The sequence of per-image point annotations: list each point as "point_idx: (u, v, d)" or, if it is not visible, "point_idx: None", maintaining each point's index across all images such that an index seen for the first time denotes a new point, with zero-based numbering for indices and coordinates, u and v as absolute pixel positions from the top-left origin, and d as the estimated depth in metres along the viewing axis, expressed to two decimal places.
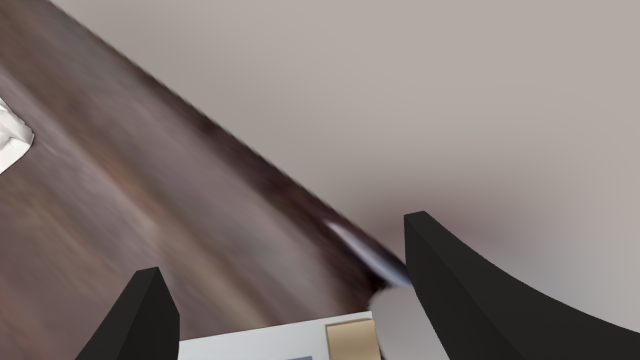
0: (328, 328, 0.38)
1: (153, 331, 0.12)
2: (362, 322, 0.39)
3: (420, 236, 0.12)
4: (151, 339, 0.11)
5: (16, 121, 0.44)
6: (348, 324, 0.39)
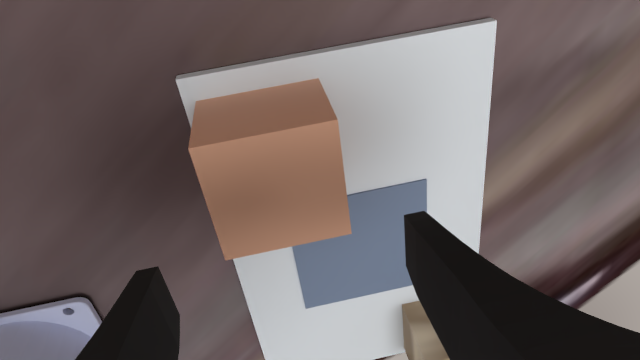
0: None
1: (153, 331, 0.12)
2: None
3: (420, 236, 0.12)
4: (152, 338, 0.11)
5: None
6: None
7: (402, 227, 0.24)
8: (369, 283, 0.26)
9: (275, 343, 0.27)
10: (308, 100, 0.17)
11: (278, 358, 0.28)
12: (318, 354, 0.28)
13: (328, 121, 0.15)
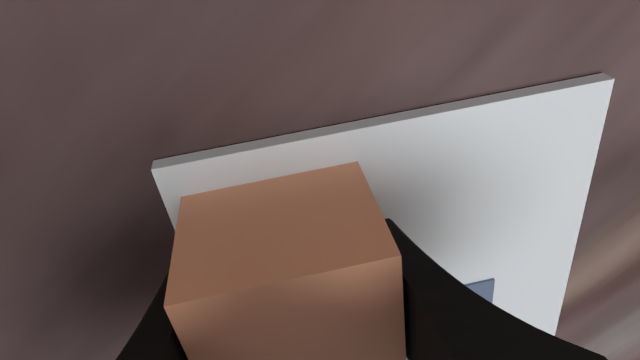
0: None
1: None
2: None
3: None
4: None
5: None
6: None
7: None
8: None
9: None
10: (348, 207, 0.11)
11: None
12: None
13: (386, 258, 0.10)
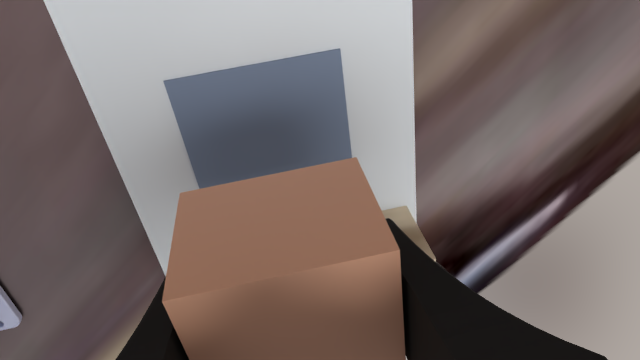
0: None
1: None
2: None
3: None
4: None
5: None
6: None
7: (317, 115, 0.20)
8: None
9: None
10: (346, 202, 0.11)
11: None
12: None
13: (384, 252, 0.10)
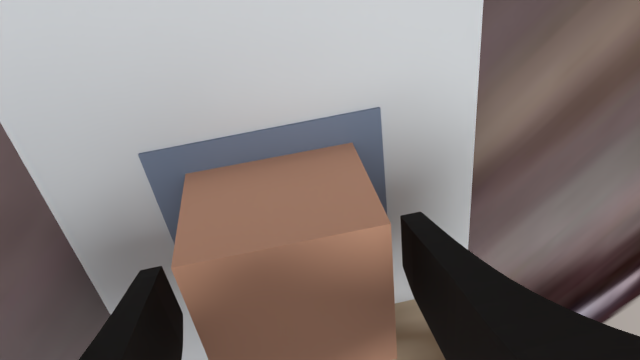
0: None
1: (157, 330, 0.12)
2: None
3: (416, 237, 0.12)
4: (155, 338, 0.11)
5: None
6: None
7: None
8: None
9: None
10: (342, 183, 0.12)
11: None
12: None
13: (377, 226, 0.11)
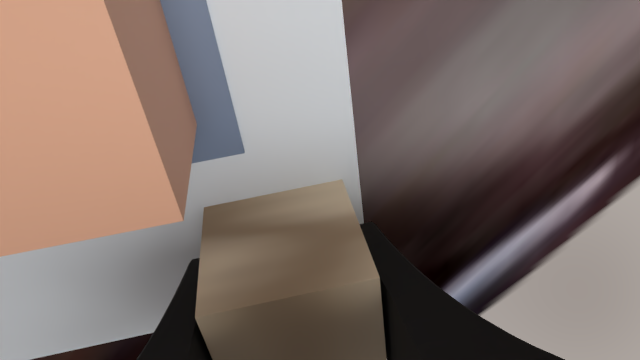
0: (373, 281, 0.10)
1: None
2: None
3: None
4: None
5: None
6: (380, 331, 0.11)
7: None
8: None
9: None
10: None
11: None
12: (56, 314, 0.14)
13: None
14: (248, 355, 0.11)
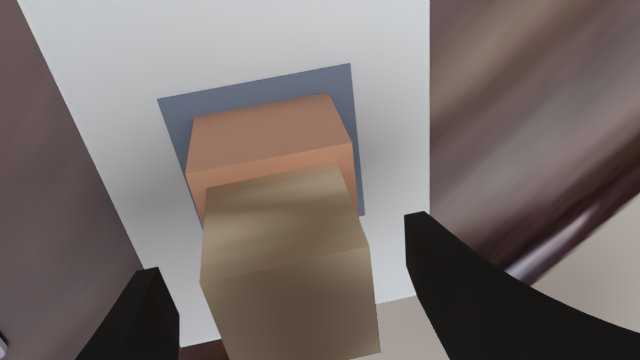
0: (364, 250, 0.11)
1: (153, 331, 0.12)
2: (375, 330, 0.12)
3: (420, 236, 0.12)
4: (151, 338, 0.11)
5: None
6: (372, 299, 0.12)
7: None
8: None
9: (176, 294, 0.21)
10: (318, 119, 0.15)
11: (183, 315, 0.22)
12: None
13: (341, 144, 0.14)
14: (248, 321, 0.11)
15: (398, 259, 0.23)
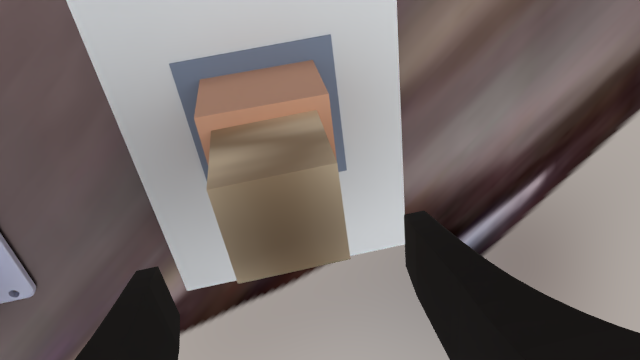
0: (333, 166, 0.14)
1: (153, 331, 0.12)
2: (344, 238, 0.16)
3: (420, 236, 0.12)
4: (151, 339, 0.11)
5: None
6: (341, 209, 0.15)
7: None
8: None
9: (183, 241, 0.25)
10: (302, 78, 0.19)
11: (189, 260, 0.25)
12: None
13: (320, 95, 0.17)
14: (244, 225, 0.15)
15: (376, 212, 0.26)
